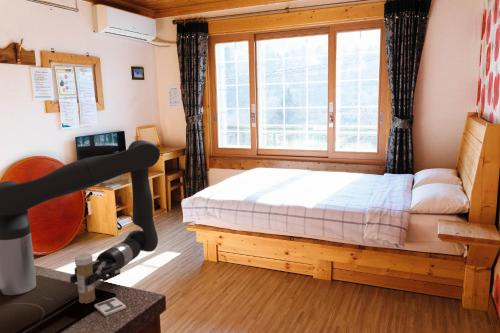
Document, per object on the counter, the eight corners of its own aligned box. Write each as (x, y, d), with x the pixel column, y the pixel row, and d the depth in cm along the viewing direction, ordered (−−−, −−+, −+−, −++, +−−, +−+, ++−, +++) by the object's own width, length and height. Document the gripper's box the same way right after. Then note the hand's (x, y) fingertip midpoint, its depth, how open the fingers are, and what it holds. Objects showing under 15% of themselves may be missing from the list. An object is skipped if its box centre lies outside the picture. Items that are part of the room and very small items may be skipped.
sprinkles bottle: (97, 301, 114) (93, 256, 112) (80, 305, 112) (76, 260, 109) (93, 294, 118) (90, 251, 116) (77, 299, 115) (73, 255, 113)
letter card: (94, 306, 111) (94, 304, 111) (114, 299, 115) (114, 297, 115) (105, 316, 106) (105, 314, 106) (126, 308, 110) (126, 305, 110)
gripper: (95, 245, 128) (56, 266, 112) (134, 249, 125) (99, 271, 108) (97, 266, 130) (58, 291, 114) (135, 271, 126) (101, 297, 110)
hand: (79, 281), depth 111 cm, fingers closed on sprinkles bottle, 4 cm apart
